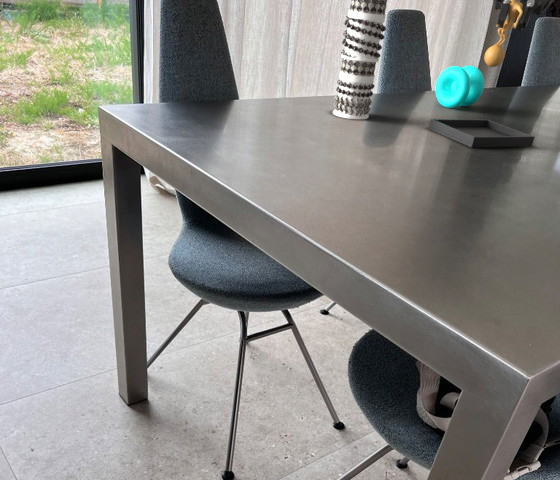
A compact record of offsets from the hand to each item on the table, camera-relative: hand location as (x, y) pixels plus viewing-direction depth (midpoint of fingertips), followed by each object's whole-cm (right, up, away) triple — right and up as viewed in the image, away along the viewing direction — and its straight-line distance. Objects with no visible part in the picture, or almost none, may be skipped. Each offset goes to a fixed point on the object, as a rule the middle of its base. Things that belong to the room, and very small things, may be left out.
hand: (510, 25), depth 113 cm
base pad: (-1, -16, +14) cm, 22 cm away
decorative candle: (-30, -9, +20) cm, 37 cm away
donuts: (+2, +4, +43) cm, 44 cm away
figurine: (0, -5, +6) cm, 8 cm away
